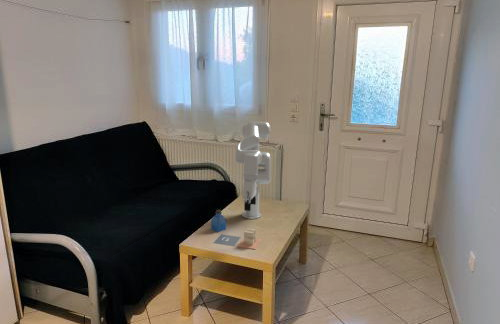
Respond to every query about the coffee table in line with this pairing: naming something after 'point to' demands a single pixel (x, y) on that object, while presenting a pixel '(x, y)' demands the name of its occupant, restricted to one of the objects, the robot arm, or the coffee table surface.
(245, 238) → the maple block
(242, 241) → the pad
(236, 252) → the coffee table surface
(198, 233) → the coffee table surface
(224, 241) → the gray tile
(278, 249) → the coffee table surface
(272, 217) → the coffee table surface
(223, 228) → the perfume bottle
